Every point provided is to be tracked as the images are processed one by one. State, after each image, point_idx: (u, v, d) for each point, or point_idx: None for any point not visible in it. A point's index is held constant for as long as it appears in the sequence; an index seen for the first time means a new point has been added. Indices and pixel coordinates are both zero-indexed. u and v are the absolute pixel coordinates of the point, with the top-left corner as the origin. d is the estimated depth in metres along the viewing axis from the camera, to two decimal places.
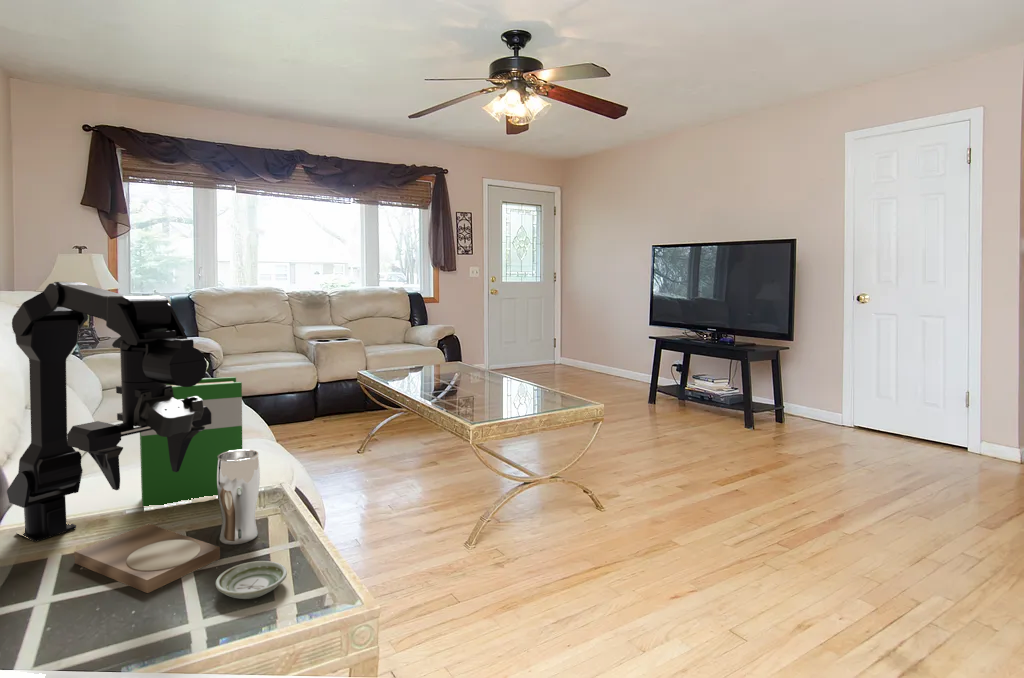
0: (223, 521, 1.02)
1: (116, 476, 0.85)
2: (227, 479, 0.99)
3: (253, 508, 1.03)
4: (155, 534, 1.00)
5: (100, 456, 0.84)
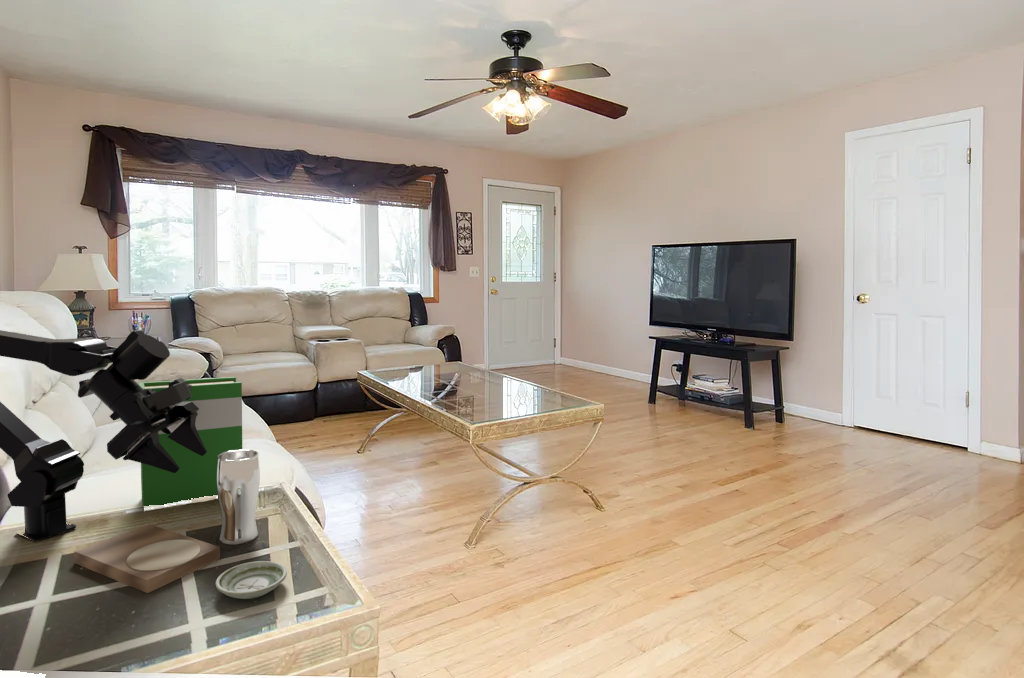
0: (223, 521, 1.02)
1: (170, 458, 0.97)
2: (227, 479, 0.99)
3: (253, 508, 1.03)
4: (155, 534, 1.00)
5: (145, 455, 0.96)
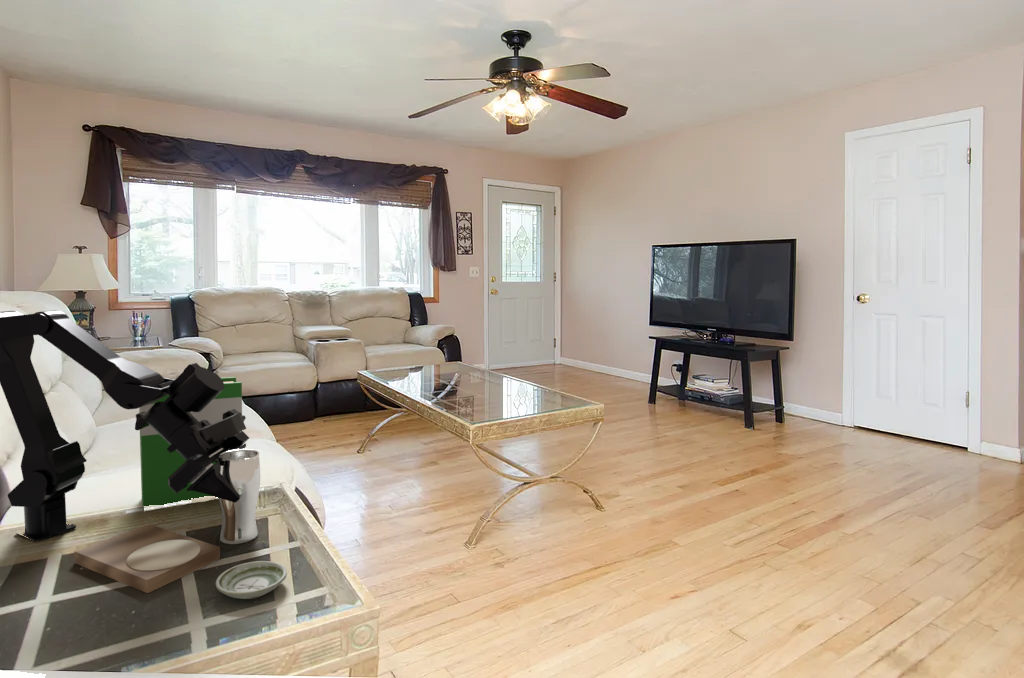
0: (223, 521, 1.02)
1: (231, 488, 0.99)
2: (228, 478, 1.00)
3: (253, 508, 1.03)
4: (155, 534, 1.00)
5: (207, 486, 0.98)
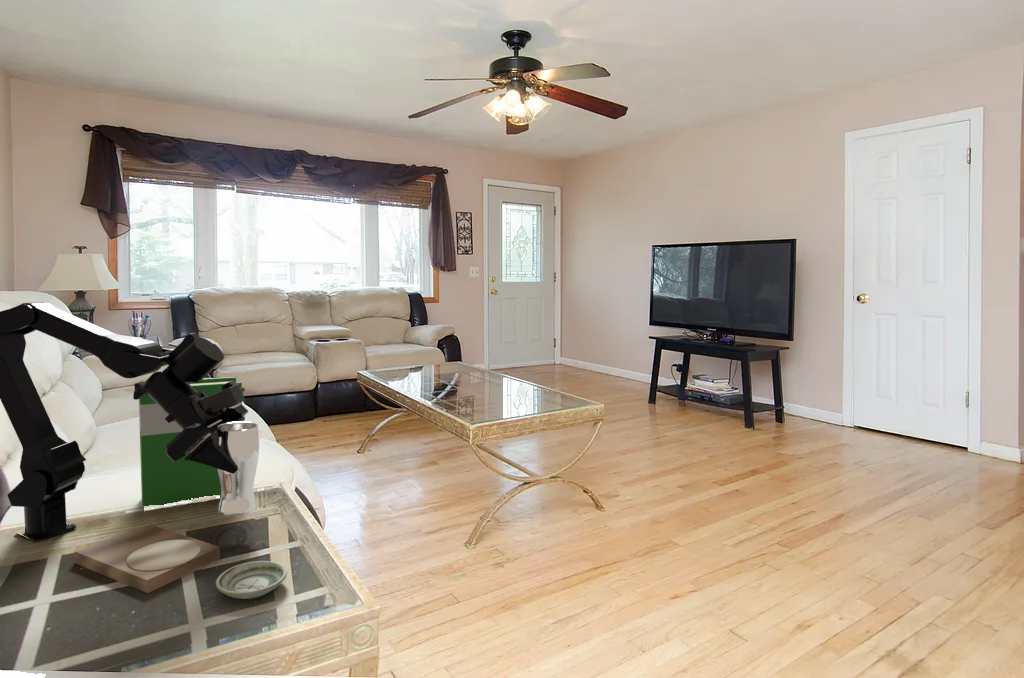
0: (221, 492, 1.01)
1: (229, 459, 0.98)
2: (226, 449, 0.99)
3: (252, 480, 1.02)
4: (155, 534, 1.00)
5: (205, 456, 0.97)
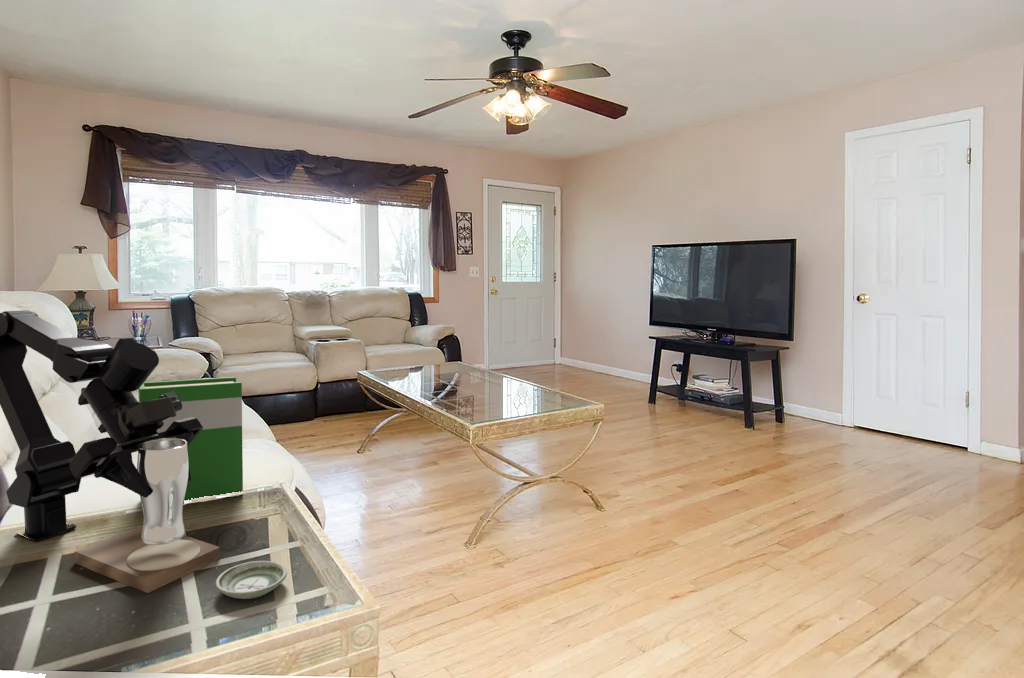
0: None
1: (140, 480, 0.88)
2: (140, 470, 0.88)
3: (173, 507, 0.90)
4: None
5: (118, 474, 0.88)
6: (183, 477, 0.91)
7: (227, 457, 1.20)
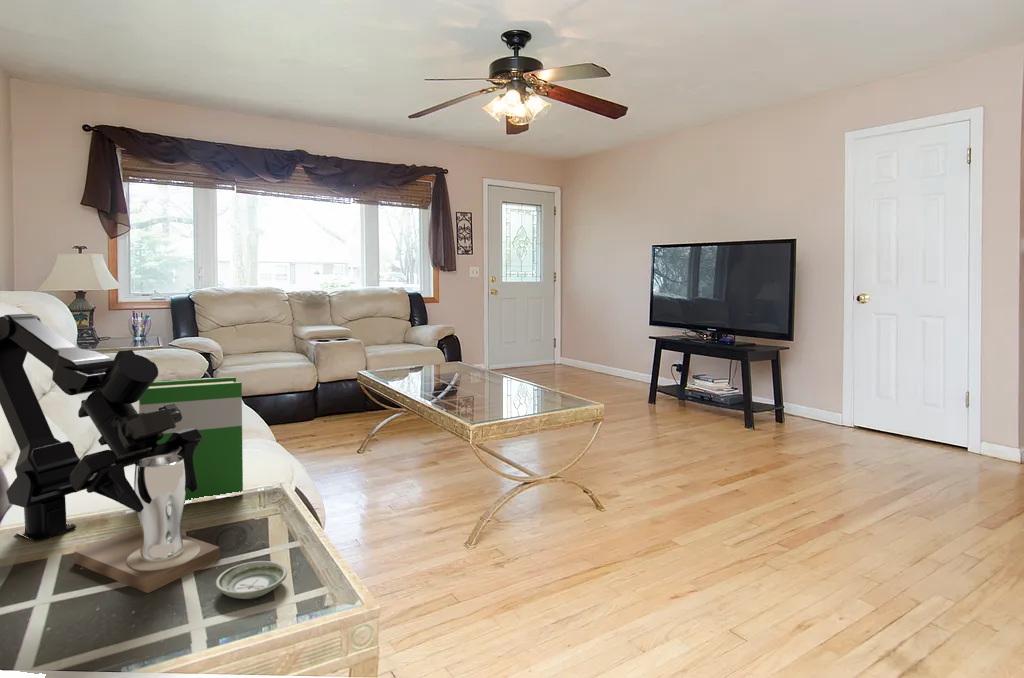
0: None
1: (133, 495, 0.87)
2: (137, 487, 0.89)
3: (171, 523, 0.91)
4: None
5: (111, 489, 0.87)
6: (180, 493, 0.91)
7: (227, 457, 1.20)
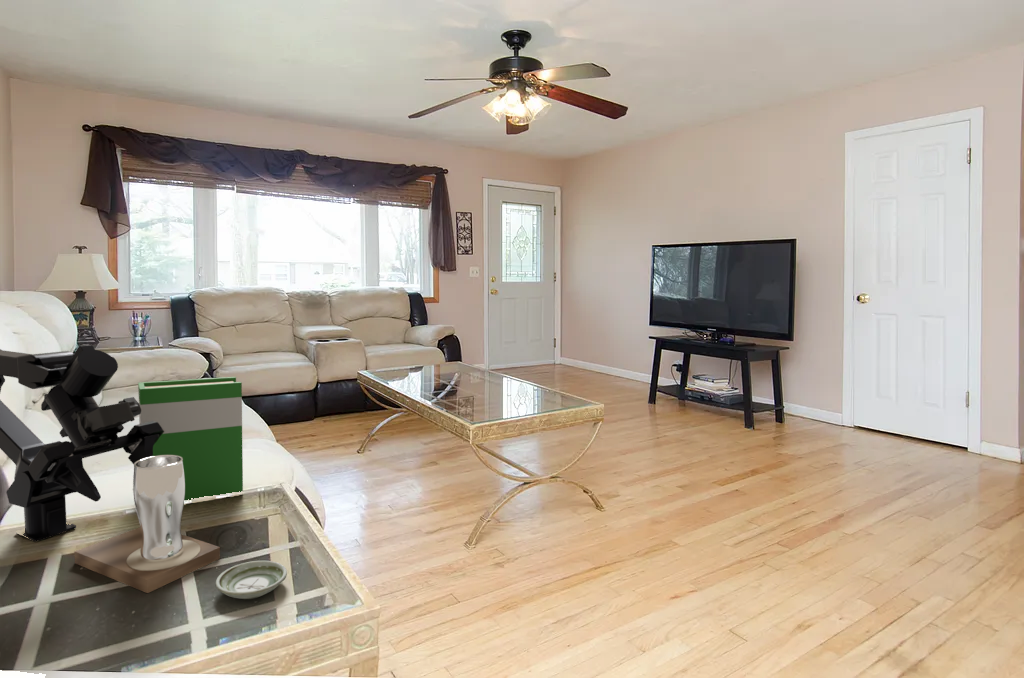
0: None
1: (91, 485, 0.90)
2: (136, 488, 0.88)
3: (170, 524, 0.91)
4: None
5: (69, 479, 0.90)
6: (179, 494, 0.91)
7: (227, 457, 1.20)
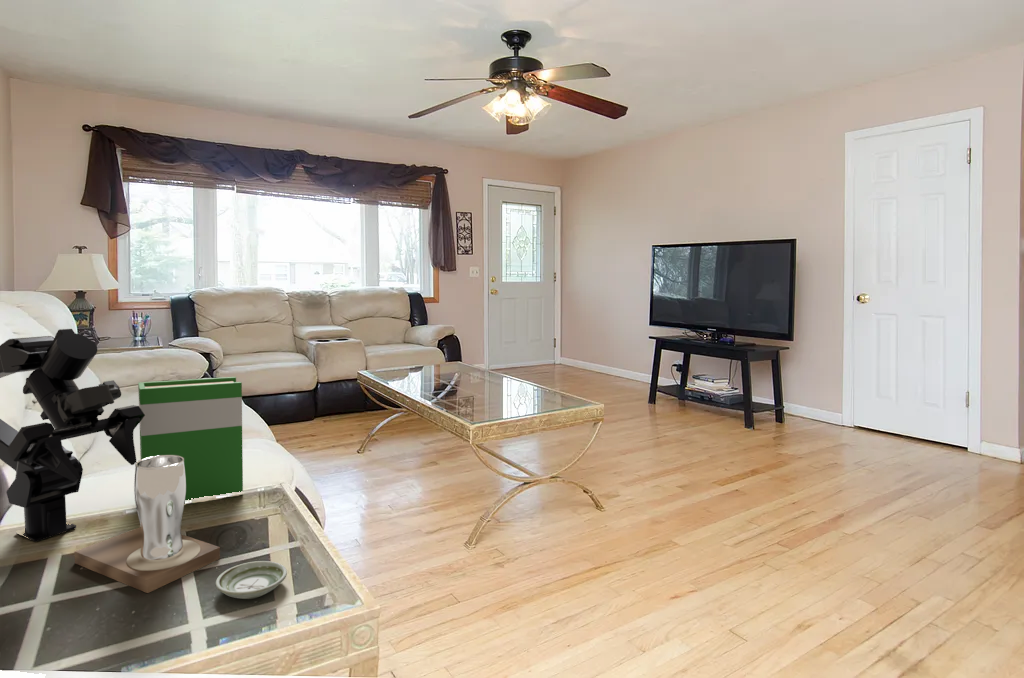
0: None
1: (70, 465, 0.91)
2: (137, 488, 0.88)
3: (171, 524, 0.91)
4: None
5: (48, 460, 0.92)
6: (180, 494, 0.91)
7: (227, 457, 1.20)
